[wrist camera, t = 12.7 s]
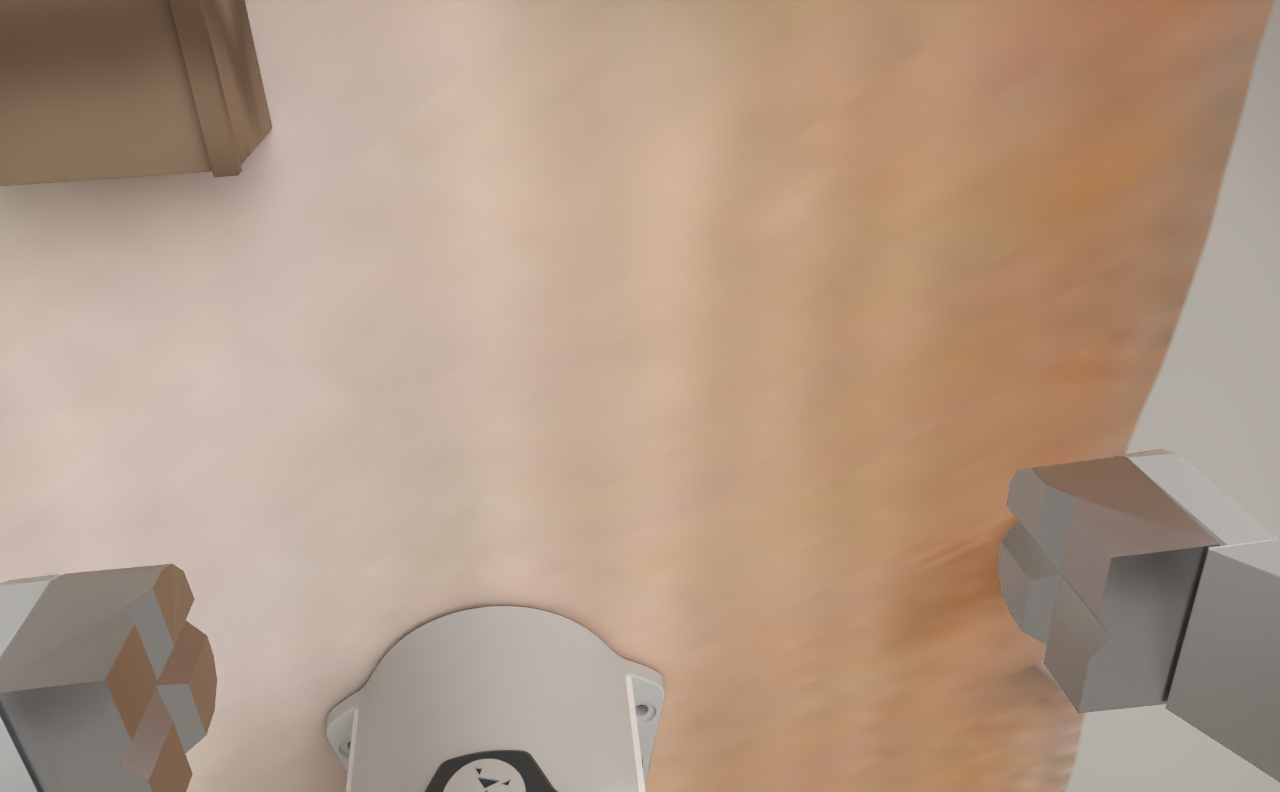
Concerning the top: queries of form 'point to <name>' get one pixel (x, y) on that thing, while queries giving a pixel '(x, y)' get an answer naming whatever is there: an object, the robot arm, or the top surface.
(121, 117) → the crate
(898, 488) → the top surface
